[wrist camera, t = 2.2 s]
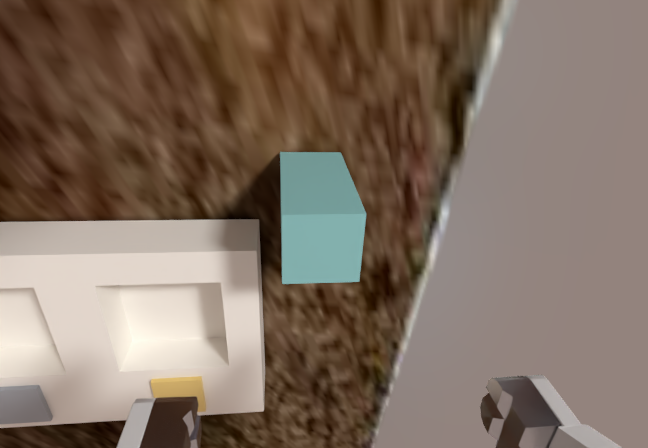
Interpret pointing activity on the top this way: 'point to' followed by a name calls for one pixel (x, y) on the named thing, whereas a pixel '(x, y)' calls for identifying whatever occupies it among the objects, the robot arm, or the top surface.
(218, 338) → the socket block
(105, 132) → the top surface
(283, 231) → the plug
